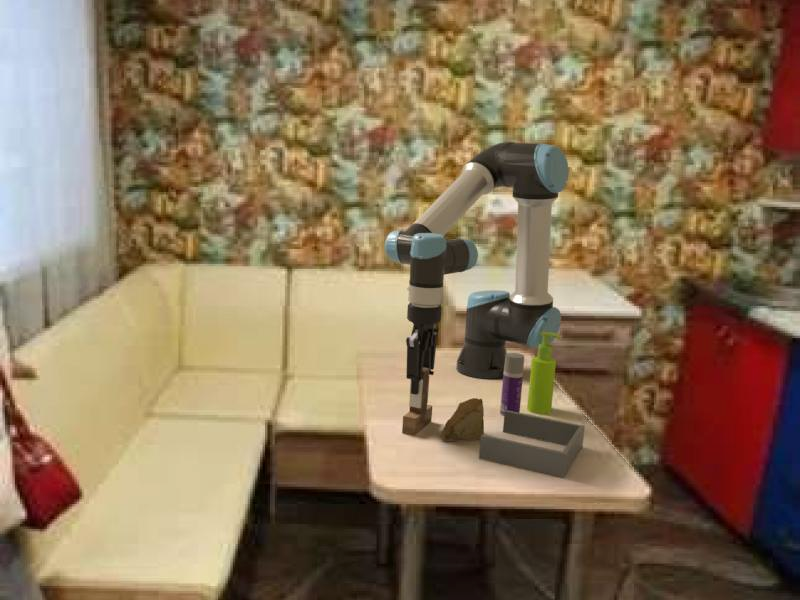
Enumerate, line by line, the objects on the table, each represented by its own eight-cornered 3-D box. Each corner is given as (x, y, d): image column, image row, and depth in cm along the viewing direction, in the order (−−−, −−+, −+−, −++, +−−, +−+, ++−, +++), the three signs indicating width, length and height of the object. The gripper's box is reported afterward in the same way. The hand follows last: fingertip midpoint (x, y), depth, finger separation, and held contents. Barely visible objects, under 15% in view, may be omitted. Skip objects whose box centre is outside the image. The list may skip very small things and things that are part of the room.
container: (518, 418, 190) (524, 359, 186) (499, 416, 191) (504, 356, 187) (519, 412, 194) (525, 353, 191) (500, 409, 195) (505, 351, 192)
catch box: (504, 430, 182) (506, 410, 181) (582, 447, 175) (584, 425, 174) (478, 458, 166) (480, 435, 165) (563, 477, 159) (566, 454, 158)
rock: (438, 436, 170) (484, 435, 169) (437, 398, 174) (482, 396, 173) (442, 449, 180) (486, 447, 179) (440, 413, 183) (484, 411, 182)
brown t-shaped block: (419, 419, 186) (423, 362, 183) (431, 421, 185) (435, 364, 182) (402, 433, 177) (405, 373, 174) (414, 435, 176) (418, 375, 173)
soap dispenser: (549, 417, 192) (557, 337, 188) (523, 410, 196) (530, 332, 191) (558, 410, 197) (566, 333, 193) (532, 404, 200) (539, 328, 196)
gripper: (423, 295, 183) (417, 391, 188) (394, 308, 169) (388, 411, 174) (453, 299, 180) (446, 397, 185) (426, 313, 166) (419, 418, 171)
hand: (418, 404), depth 180 cm, fingers closed on brown t-shaped block, 3 cm apart
